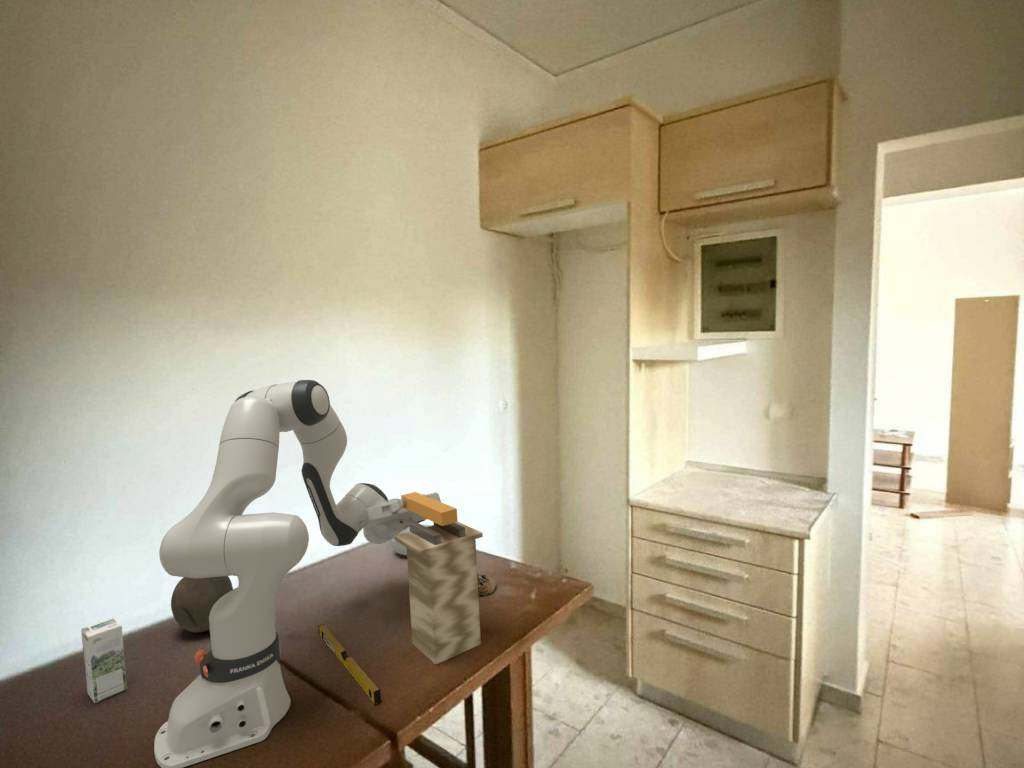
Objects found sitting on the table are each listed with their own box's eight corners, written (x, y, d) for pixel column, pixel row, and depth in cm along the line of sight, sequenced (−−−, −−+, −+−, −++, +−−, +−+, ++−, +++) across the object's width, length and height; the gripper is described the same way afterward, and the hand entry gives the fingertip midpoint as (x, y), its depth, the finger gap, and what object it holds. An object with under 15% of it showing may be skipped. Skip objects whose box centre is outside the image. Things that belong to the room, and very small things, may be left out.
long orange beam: (442, 526, 116) (441, 512, 115) (401, 506, 131) (401, 495, 131) (457, 521, 118) (456, 508, 118) (416, 503, 134) (415, 492, 134)
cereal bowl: (425, 539, 192) (423, 520, 191) (449, 551, 179) (448, 531, 178) (382, 552, 181) (380, 532, 180) (405, 566, 168) (403, 545, 168)
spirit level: (381, 703, 103) (380, 689, 103) (374, 706, 102) (373, 692, 102) (324, 635, 129) (323, 623, 129) (319, 637, 128) (318, 625, 128)
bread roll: (450, 594, 148) (451, 576, 148) (470, 582, 158) (471, 566, 158) (485, 602, 143) (486, 583, 143) (503, 590, 153) (504, 572, 153)
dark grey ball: (247, 622, 137) (242, 566, 136) (189, 649, 125) (184, 588, 124) (219, 609, 145) (215, 556, 144) (162, 633, 133) (157, 576, 132)
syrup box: (120, 680, 114) (113, 615, 113) (128, 690, 110) (121, 623, 109) (87, 694, 110) (80, 627, 109) (94, 705, 106) (87, 636, 105)
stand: (427, 668, 113) (419, 542, 111) (400, 643, 123) (393, 527, 122) (487, 640, 123) (482, 524, 121) (458, 619, 133) (452, 512, 131)
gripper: (354, 513, 135) (370, 496, 125) (424, 497, 147) (445, 480, 138) (359, 537, 133) (377, 521, 123) (431, 518, 145) (452, 503, 135)
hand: (413, 499), depth 130 cm, fingers closed on long orange beam, 4 cm apart
